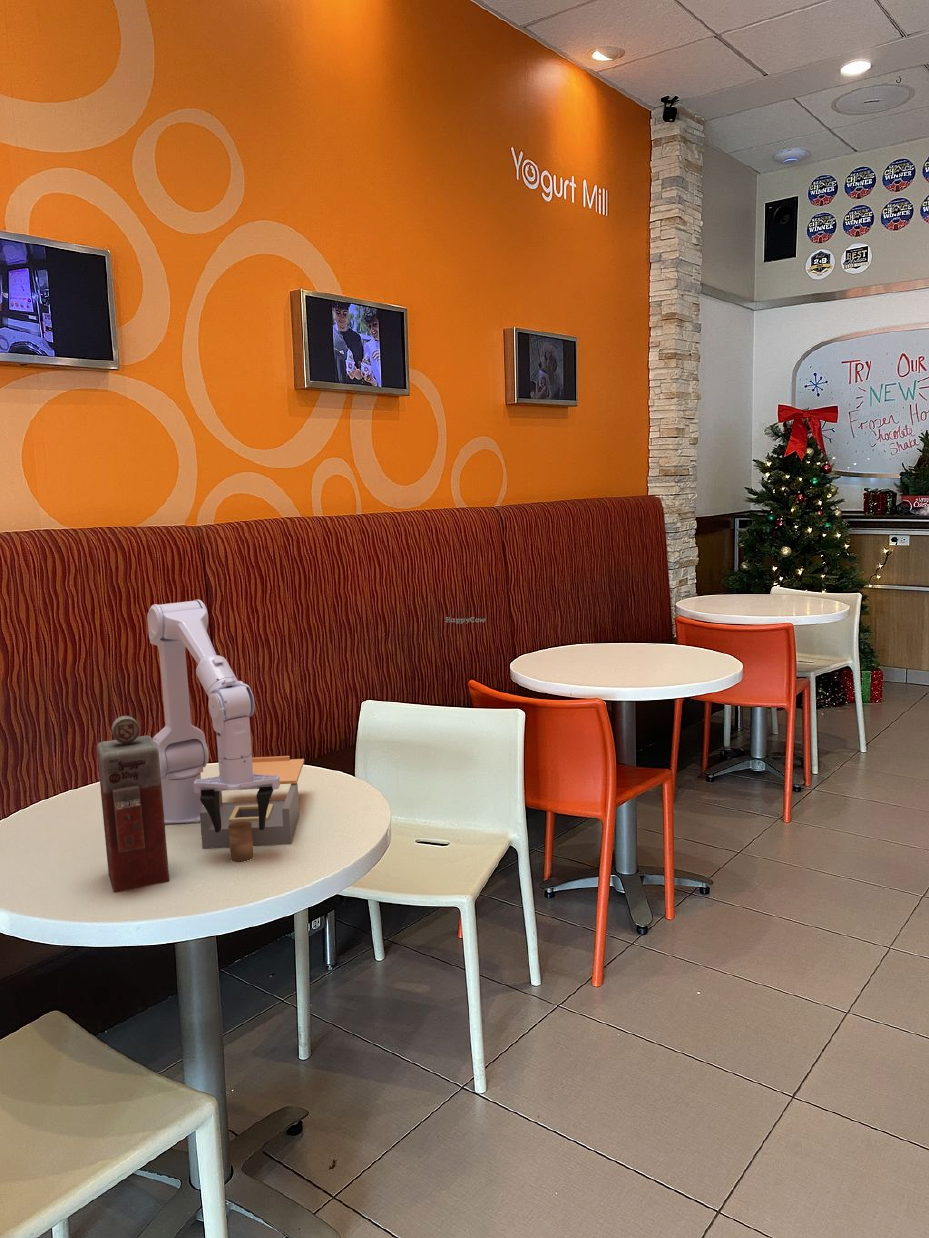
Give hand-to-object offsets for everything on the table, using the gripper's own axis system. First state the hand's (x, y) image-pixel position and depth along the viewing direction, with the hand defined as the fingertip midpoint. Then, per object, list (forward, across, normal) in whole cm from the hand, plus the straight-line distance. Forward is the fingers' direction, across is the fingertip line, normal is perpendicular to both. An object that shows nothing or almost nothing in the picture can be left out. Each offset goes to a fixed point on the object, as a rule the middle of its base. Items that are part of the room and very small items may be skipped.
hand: (240, 829), depth 165 cm
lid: (-2, 0, +25) cm, 25 cm away
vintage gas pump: (+6, -16, -7) cm, 18 cm away
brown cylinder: (+5, 0, 0) cm, 5 cm away
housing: (+5, 0, +12) cm, 13 cm away
